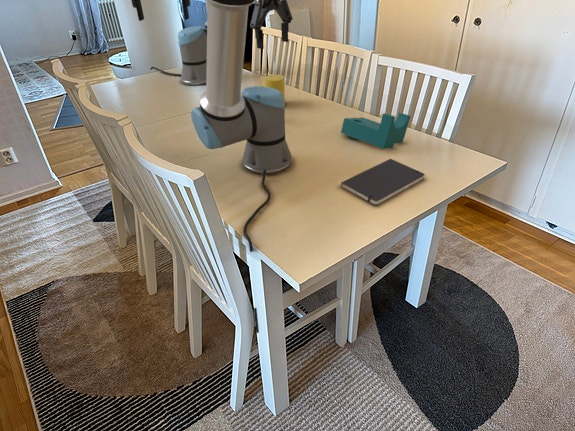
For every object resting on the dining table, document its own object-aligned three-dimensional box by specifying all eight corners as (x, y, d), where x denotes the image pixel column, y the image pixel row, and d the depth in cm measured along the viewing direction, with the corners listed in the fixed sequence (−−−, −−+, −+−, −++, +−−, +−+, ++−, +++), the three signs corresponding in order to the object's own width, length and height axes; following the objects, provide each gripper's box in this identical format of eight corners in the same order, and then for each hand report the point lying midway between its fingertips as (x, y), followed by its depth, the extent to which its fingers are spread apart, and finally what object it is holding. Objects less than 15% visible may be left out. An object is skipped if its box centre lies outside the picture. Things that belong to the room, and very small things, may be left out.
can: (265, 101, 170) (264, 74, 164) (284, 100, 171) (283, 74, 164) (265, 108, 164) (264, 80, 157) (285, 107, 164) (284, 80, 158)
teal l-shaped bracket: (401, 146, 136) (410, 115, 131) (383, 149, 129) (392, 116, 124) (359, 131, 147) (366, 102, 142) (340, 132, 139) (347, 102, 135)
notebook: (389, 163, 124) (340, 187, 113) (390, 158, 123) (341, 182, 112) (424, 178, 116) (375, 206, 105) (425, 174, 115) (376, 201, 104)
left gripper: (251, -16, 132) (256, 53, 144) (301, -23, 146) (301, 39, 159) (236, -17, 136) (242, 50, 148) (286, -24, 151) (287, 37, 163)
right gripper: (197, -70, 110) (208, 16, 122) (107, -67, 111) (127, 17, 123) (191, -70, 104) (203, 20, 116) (96, -67, 105) (118, 22, 117)
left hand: (273, 44), depth 153 cm, fingers open, 13 cm apart
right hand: (164, 19), depth 120 cm, fingers open, 13 cm apart
